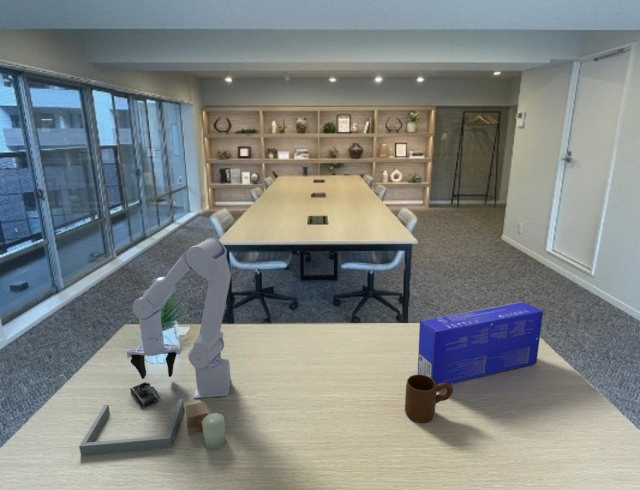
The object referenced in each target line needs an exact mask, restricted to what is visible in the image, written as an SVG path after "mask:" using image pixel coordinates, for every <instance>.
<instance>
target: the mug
mask: <svg viewBox="0 0 640 490" xmlns="http://www.w3.org/2000/svg"><path fill="white" fill-rule="evenodd" d="M442 390H446V391H445V392H444V393H438V394H437V392H440V391H442ZM453 393H454V389H453V386H452V384H448V383H444V382H443V383H440V384H437V385H436V382H435V381H434V380H433V379H432V378H430V377H428V376H425V375H418V374H414V375H410V376H409V377H408V378H407V380H406V385H405V399H404V400H405V402H404V404H405V405H404V412H405V414H406V416H407V417H408V418H409V419H410V420H412V421H413V422H416V423H421V424H422V423H423V424H425V423H429V422H431V421H432V420H433V419H434V417H435V415H436V414H435V412H436V405H437V404H438V403H441V402H444V401H447V400H449V399H450V398H451V397H452V396H453Z"/></svg>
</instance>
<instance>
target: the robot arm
mask: <svg viewBox="0 0 640 490" xmlns="http://www.w3.org/2000/svg"><path fill="white" fill-rule="evenodd" d="M227 253H228V250H227V248H226V246H225V245H224V244H223V243H222V242H221V241H220V240H219V239H218V238H215V237H208V238H206V239H205V240H204V241H202V242H199V243H198V244H196V245H193V246H190V247H188V249H187V250H186V251H185V252H183V253H182V255H181V256H180V257H179V258H178V260H177V261H176V262H175V263H174V265H173V266H172V267H171V269H170V270H169V271H168V272H167V274H166V275H165V276H159V277H156V278H153V279H152V280H151V285H150V286H149V288H148V289H145V290H144V291H143V292H142V296H141V297H140V298H137V299H135V300H134V301H133V302H132V306H131V307H132V308H131V309H132V311H133V314H134V315H135V317H137V318H138V322H139V330H140V337H141V343H142V345H141V346H140V345H139V346H136V347H129V348H127V350H126V356H127V358H131V359H130V364H131V365H132V366H133V367H135V369H136V370H137V371H138V373H139V375H140V377H141V379H143V380H144V379H145V378H146V377H147V368H146V363H145V362H146V361H145V356H146V357H154V356H159V355H166V357H165V359H164V360H165V362H166V365H167V375H168V378H172V376H173V374H174V365H175V362H176V361H175V360H176V358H177V355H180V353H181V352H182V349H181V344H169V343H165V341H164V332H163V326H162V318H161V315H162V309H163V308H164V305H165V303H166V301H168V299H169V298H170V297H171V296H172V295H173V294H174V293H175V291H176V284H177V282H179V281H180V280H181V279H182V278H183V277H184V276H185V274H186V273H188V272H189V271H192V270H193V271H194V272H196V273H197V274H199V276H201V277H203V278H204V279H205V280H207V281H208V285H207V291H206V296H205V301H204V306H203V307H204V308H203V312H202V318H201V324H200V330H199V333H198V335H197V337H196V338H195V340H194V343H193V347H192V349H190V351H189V352H188V361H189V363H190V364H191V365H192V366H193V368H194V370H195V371H194V372H195V382H196V388H195V392H194V394H193V398H194V399H201V398H202V399H203V398H213V397H214V398H215V397H227V396H229V393H230V388H231V384H232V377H231V367H230V364H231V363H230V360H229V359H226V358H222V357H221V356H222V353H221V352H222V351H223V350H224V348H225V342H224V332H223V331H221V329H222V324H223V319H224V314H225V308H226V303H227V296H228V293H229V289H230V283H231V277H232V273H231V270H230V265H229V262H228V258H227Z"/></svg>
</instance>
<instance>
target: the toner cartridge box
mask: <svg viewBox="0 0 640 490" xmlns="http://www.w3.org/2000/svg"><path fill="white" fill-rule="evenodd" d="M543 316H544V311H543V310H542V309H539V308H538V307H534V306H533V305H530V304H529V303H527V302H524V301H519V302H514V303H508V304H504V305H497V306H493V307H487V308H482V309H475V310H471V311H465V312H460V313H455V314H449V315H444V316H439V317H438V316H437V317H432V318H429V319H423V320H419V328H418V329H419V333H418V334H419V335H418V359H417V375H425V376H428V377H430V378H432V379H433V380H434V381H435V382H436V385H437V384H440V383H443V382H444V383H448V384H450V385H454V384H457V383H462V382H465V381H466V382H467V381H469V380H473V379H478V378H482V377H486V376H489V375H494V374H498V373H501V372H505V371H510V370H514V369H519V368H522V367H526V366H531V365H535V364H537V363H538V354H539V347H540V338H541V331H542V324H543Z"/></svg>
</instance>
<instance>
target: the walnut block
mask: <svg viewBox="0 0 640 490" xmlns="http://www.w3.org/2000/svg"><path fill="white" fill-rule="evenodd" d="M184 409H185V418H186V420H185V421H186V427H187V436H192V435H195V434H199V433H203V426H202V421H203V419H204V418H205V417H206V416H208V415H209V412H208V408H207V403H206V400H203V401H199V402H194V403H192V404H191V403H190V404H187V405H184Z"/></svg>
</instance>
